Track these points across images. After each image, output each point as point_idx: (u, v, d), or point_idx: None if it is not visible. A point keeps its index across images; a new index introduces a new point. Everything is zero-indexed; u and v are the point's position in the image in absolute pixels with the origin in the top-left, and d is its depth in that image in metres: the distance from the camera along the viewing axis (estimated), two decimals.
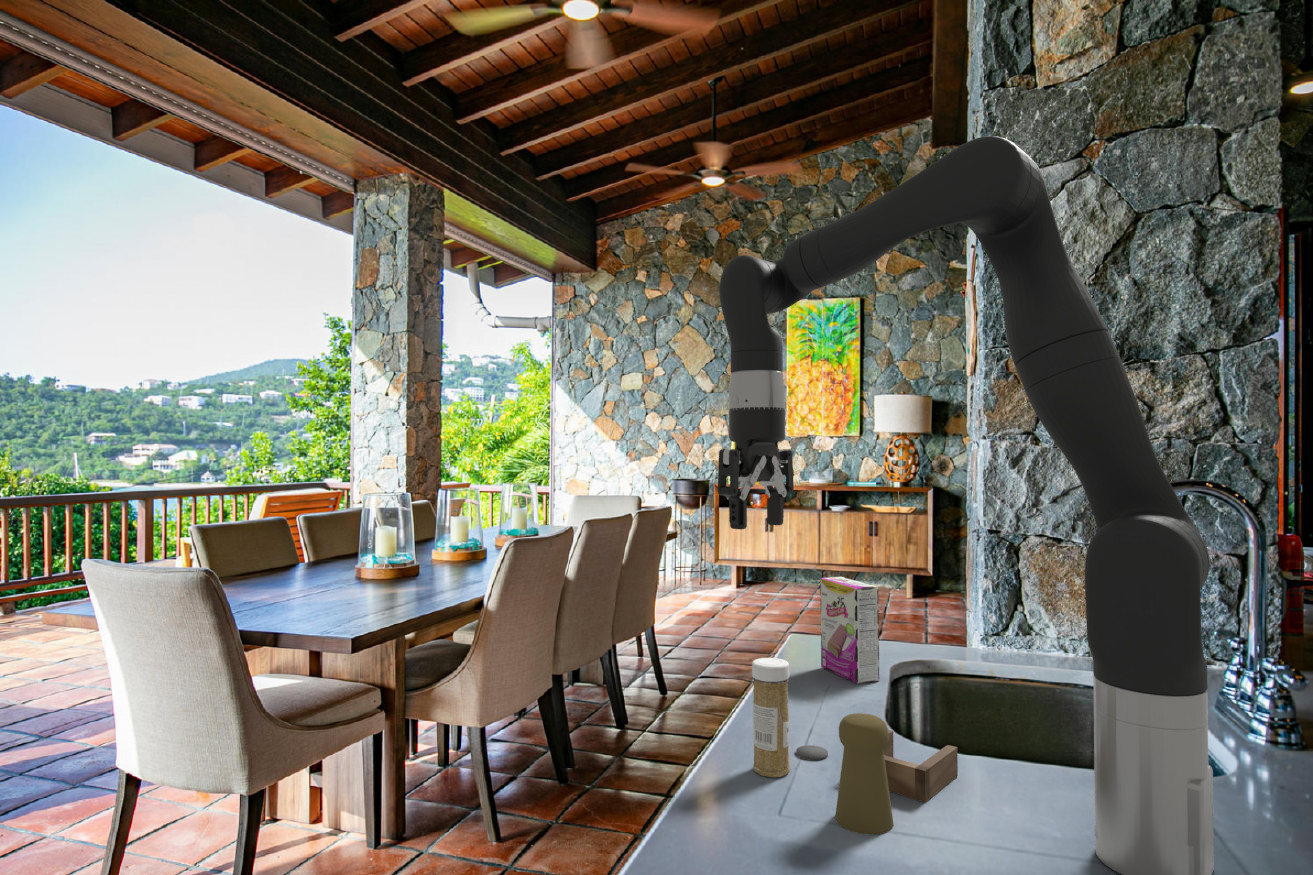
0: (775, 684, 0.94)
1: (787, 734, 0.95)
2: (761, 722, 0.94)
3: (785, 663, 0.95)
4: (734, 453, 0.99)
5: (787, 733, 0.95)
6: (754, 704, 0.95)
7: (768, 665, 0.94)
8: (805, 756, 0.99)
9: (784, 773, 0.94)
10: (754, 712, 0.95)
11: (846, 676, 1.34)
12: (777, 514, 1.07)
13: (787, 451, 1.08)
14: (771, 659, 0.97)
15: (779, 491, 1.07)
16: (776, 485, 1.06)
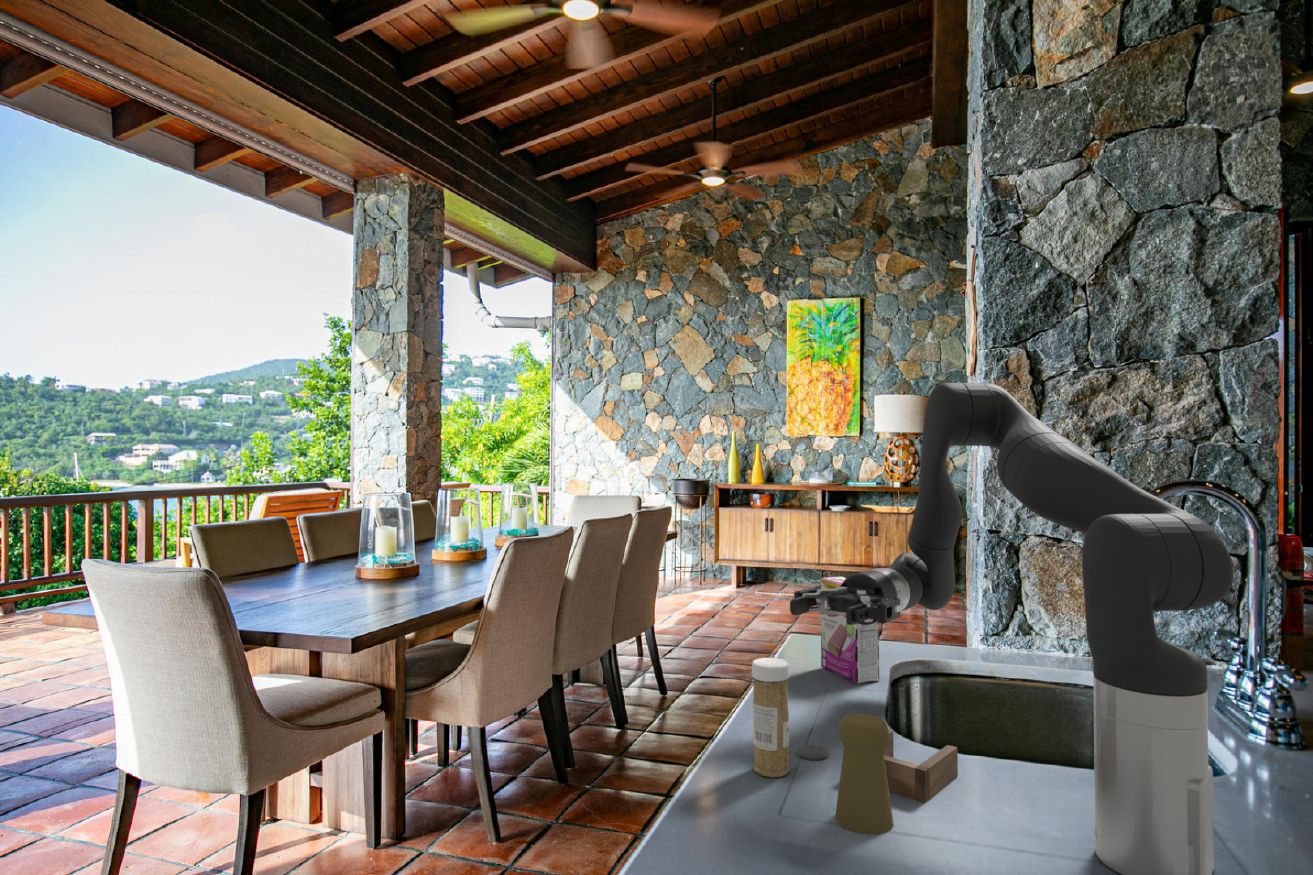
0: (775, 684, 0.94)
1: (787, 734, 0.95)
2: (761, 722, 0.94)
3: (785, 663, 0.95)
4: None
5: (787, 733, 0.95)
6: (754, 704, 0.95)
7: (768, 665, 0.94)
8: (805, 756, 0.99)
9: (784, 773, 0.94)
10: (754, 712, 0.95)
11: (846, 676, 1.34)
12: None
13: None
14: (771, 659, 0.97)
15: (862, 603, 1.06)
16: (860, 601, 1.07)
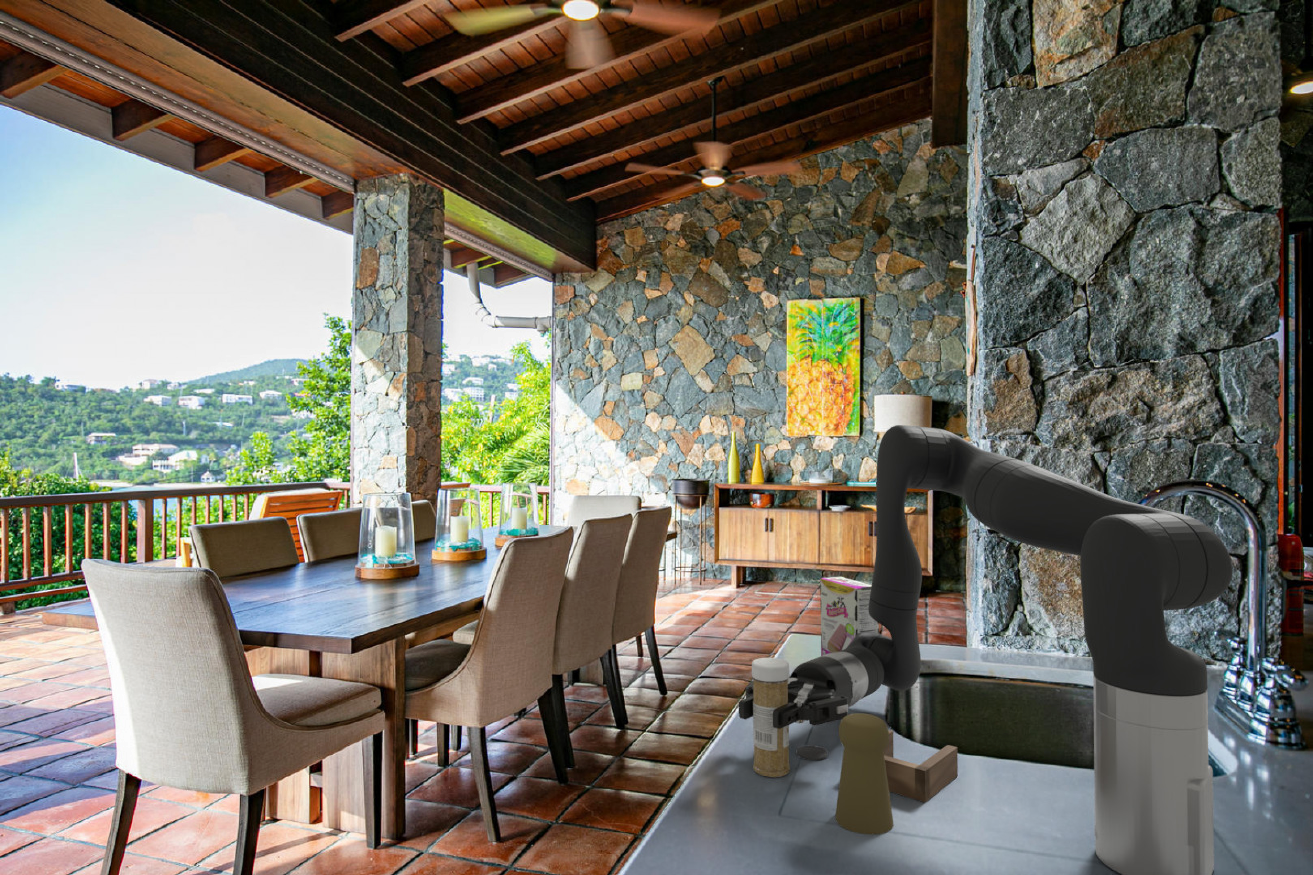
0: (775, 684, 0.94)
1: (787, 734, 0.95)
2: (761, 722, 0.94)
3: (785, 663, 0.95)
4: None
5: (787, 733, 0.95)
6: (754, 704, 0.95)
7: (768, 665, 0.94)
8: (805, 756, 0.99)
9: (784, 773, 0.94)
10: (754, 712, 0.95)
11: None
12: None
13: None
14: (771, 659, 0.97)
15: None
16: None
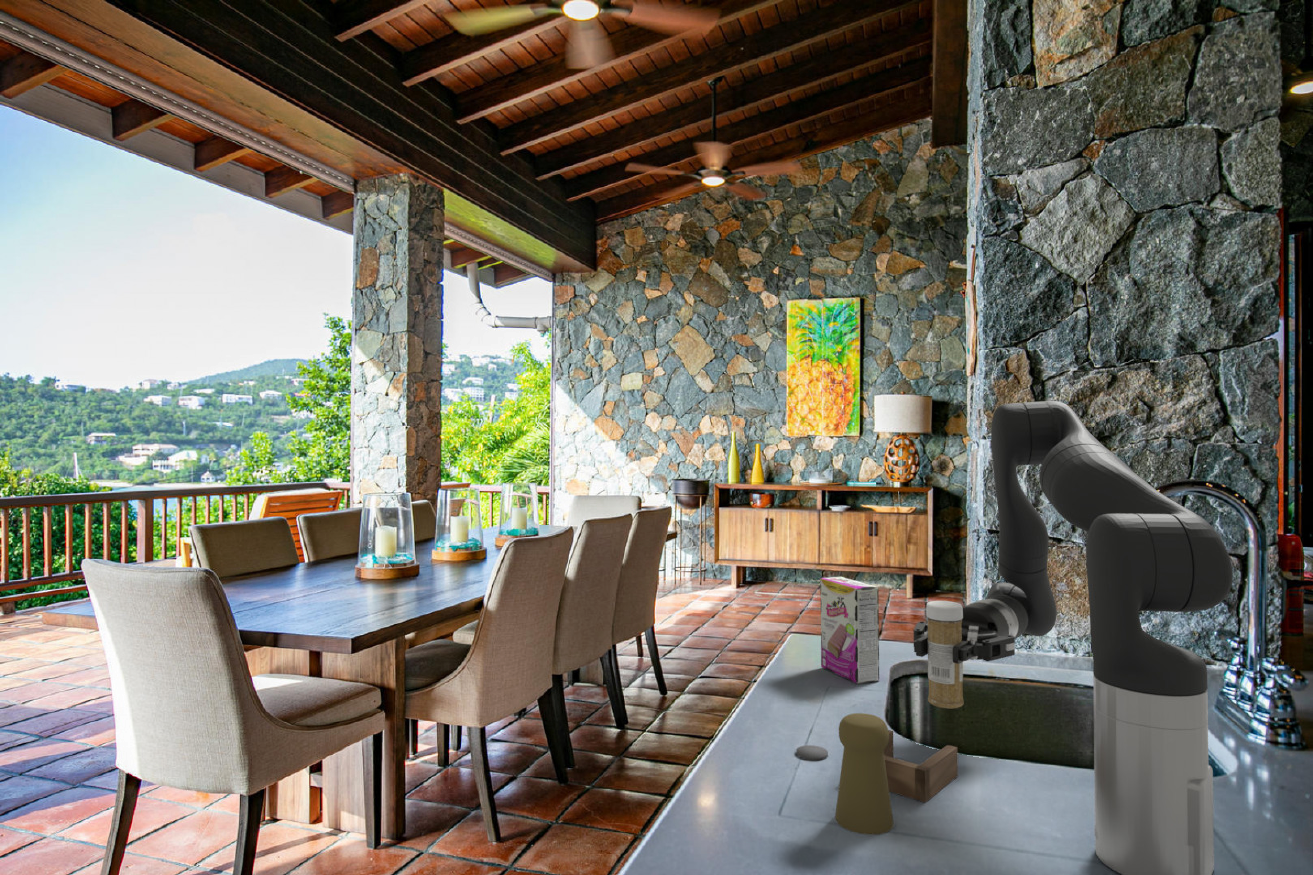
0: (952, 623, 1.02)
1: (962, 669, 1.03)
2: (938, 658, 1.02)
3: (959, 604, 1.03)
4: (919, 622, 1.13)
5: (962, 668, 1.03)
6: (930, 642, 1.03)
7: (945, 606, 1.02)
8: (805, 756, 0.99)
9: (960, 705, 1.02)
10: (930, 650, 1.03)
11: (846, 676, 1.34)
12: None
13: None
14: (943, 601, 1.05)
15: (967, 639, 1.04)
16: None
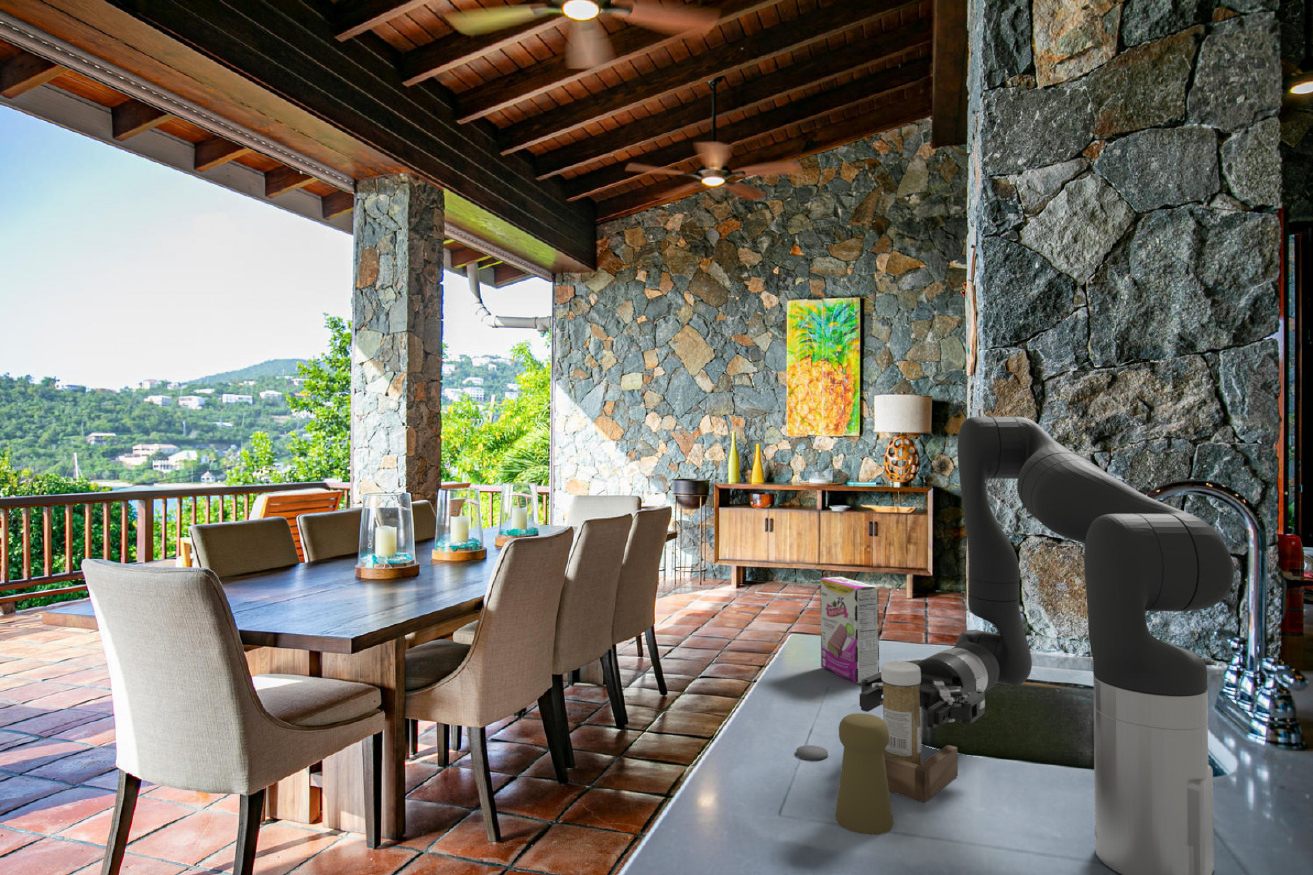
0: (909, 688, 0.92)
1: (920, 739, 0.93)
2: (894, 727, 0.92)
3: (917, 666, 0.93)
4: None
5: (920, 738, 0.93)
6: (885, 709, 0.93)
7: (900, 669, 0.92)
8: (805, 756, 0.99)
9: None
10: (885, 717, 0.93)
11: (846, 676, 1.34)
12: None
13: None
14: (900, 663, 0.95)
15: (942, 699, 0.93)
16: (940, 696, 0.94)
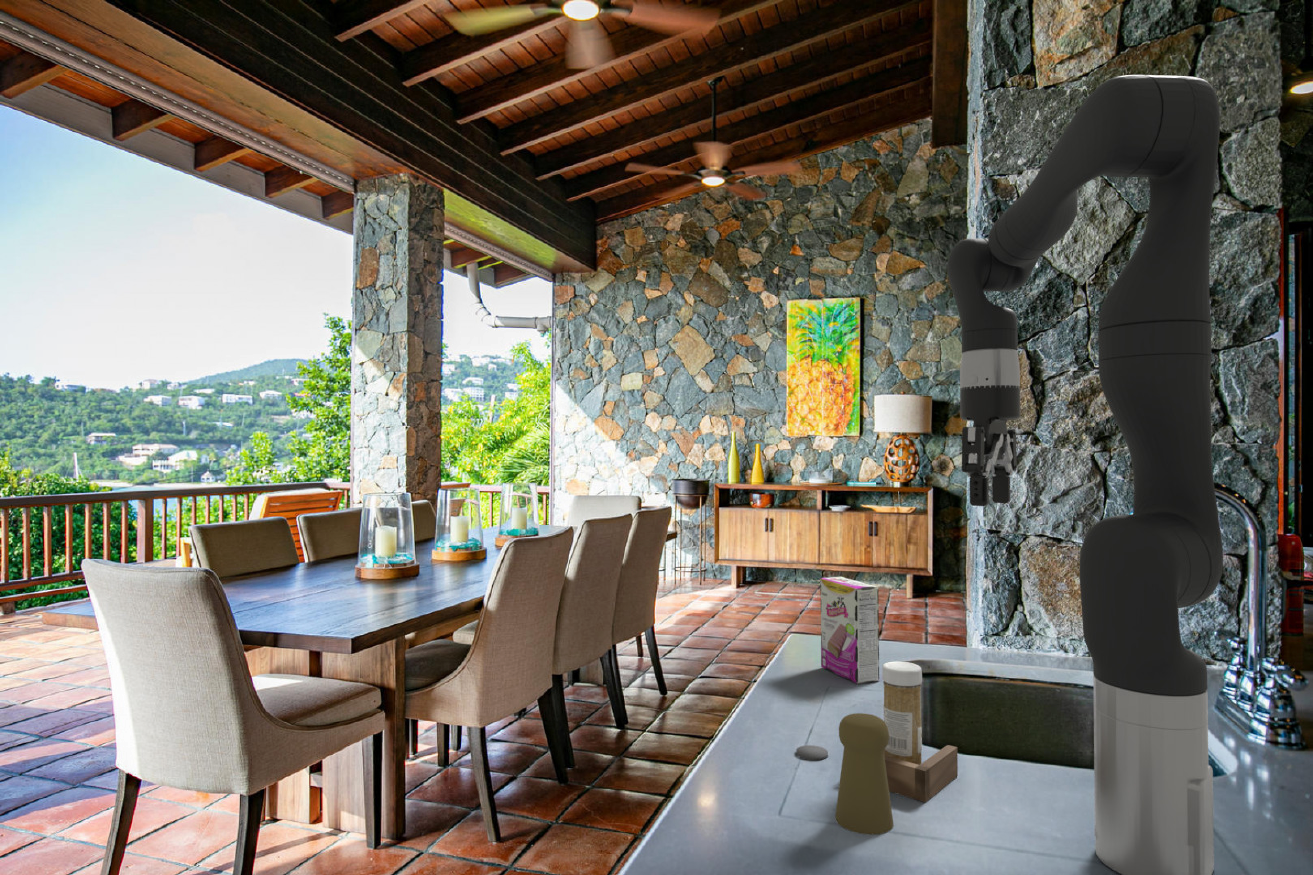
0: (909, 689, 0.92)
1: (921, 739, 0.93)
2: (895, 727, 0.92)
3: (918, 667, 0.93)
4: (981, 430, 1.00)
5: (921, 738, 0.93)
6: (886, 709, 0.93)
7: (902, 669, 0.92)
8: (805, 756, 0.99)
9: None
10: (886, 717, 0.93)
11: (846, 676, 1.34)
12: (1005, 492, 1.08)
13: (1012, 430, 1.09)
14: (901, 663, 0.95)
15: (1007, 469, 1.08)
16: (1005, 463, 1.07)
